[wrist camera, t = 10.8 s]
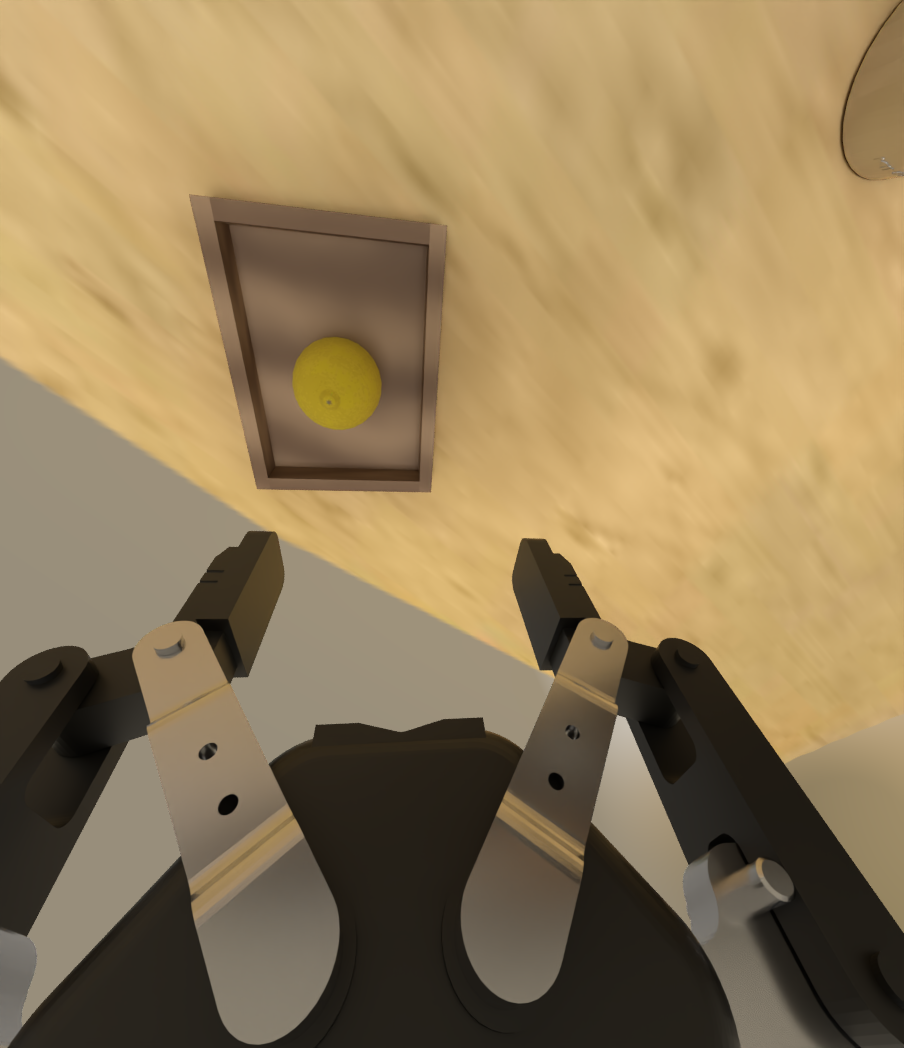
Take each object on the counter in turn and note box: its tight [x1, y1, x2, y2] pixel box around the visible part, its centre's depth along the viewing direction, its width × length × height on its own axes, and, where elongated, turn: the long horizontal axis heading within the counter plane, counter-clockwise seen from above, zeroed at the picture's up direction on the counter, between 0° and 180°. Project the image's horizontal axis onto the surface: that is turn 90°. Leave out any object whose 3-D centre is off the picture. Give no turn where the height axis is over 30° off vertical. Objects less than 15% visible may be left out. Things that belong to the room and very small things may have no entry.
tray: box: [189, 194, 447, 492], centre depth 27 cm, size 18×14×3 cm
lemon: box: [292, 337, 382, 430], centre depth 25 cm, size 6×6×8 cm
